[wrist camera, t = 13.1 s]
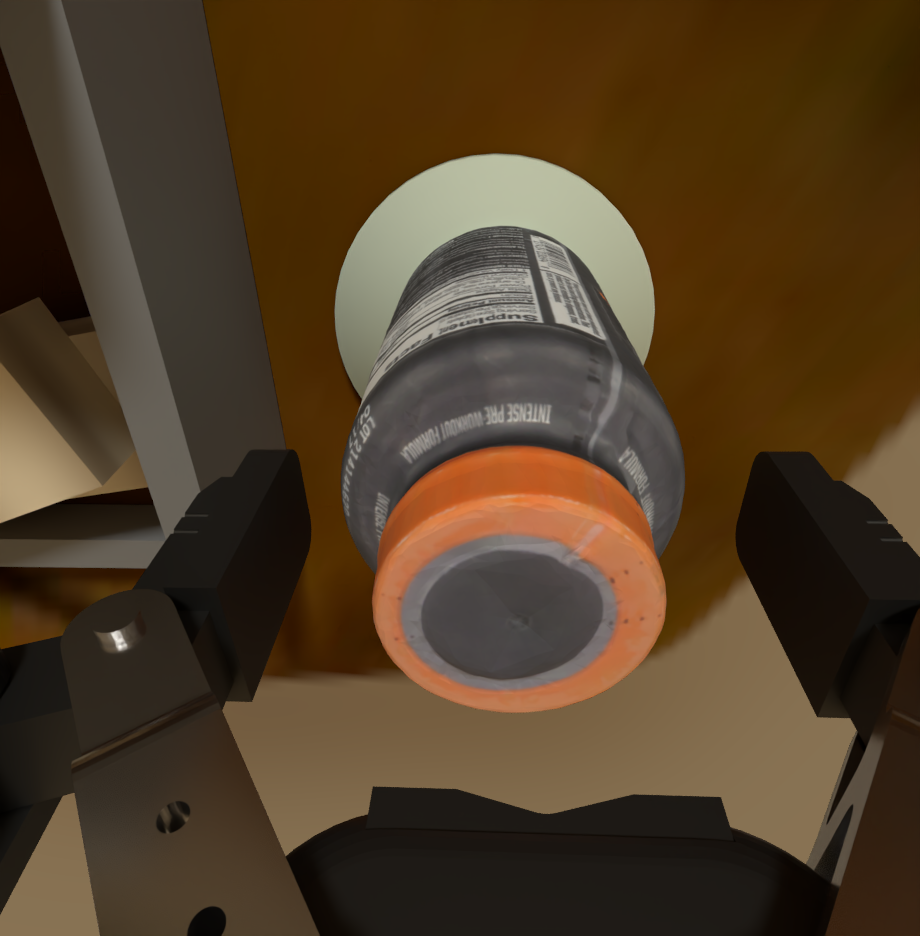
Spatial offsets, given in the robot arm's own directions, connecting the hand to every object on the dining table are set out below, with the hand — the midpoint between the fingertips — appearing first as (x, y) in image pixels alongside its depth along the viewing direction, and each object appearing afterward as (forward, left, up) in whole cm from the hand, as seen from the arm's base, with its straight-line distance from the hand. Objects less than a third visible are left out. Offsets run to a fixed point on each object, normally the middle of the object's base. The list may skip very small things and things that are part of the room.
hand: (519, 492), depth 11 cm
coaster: (0, 0, -9) cm, 9 cm away
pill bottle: (0, 0, -8) cm, 8 cm away
